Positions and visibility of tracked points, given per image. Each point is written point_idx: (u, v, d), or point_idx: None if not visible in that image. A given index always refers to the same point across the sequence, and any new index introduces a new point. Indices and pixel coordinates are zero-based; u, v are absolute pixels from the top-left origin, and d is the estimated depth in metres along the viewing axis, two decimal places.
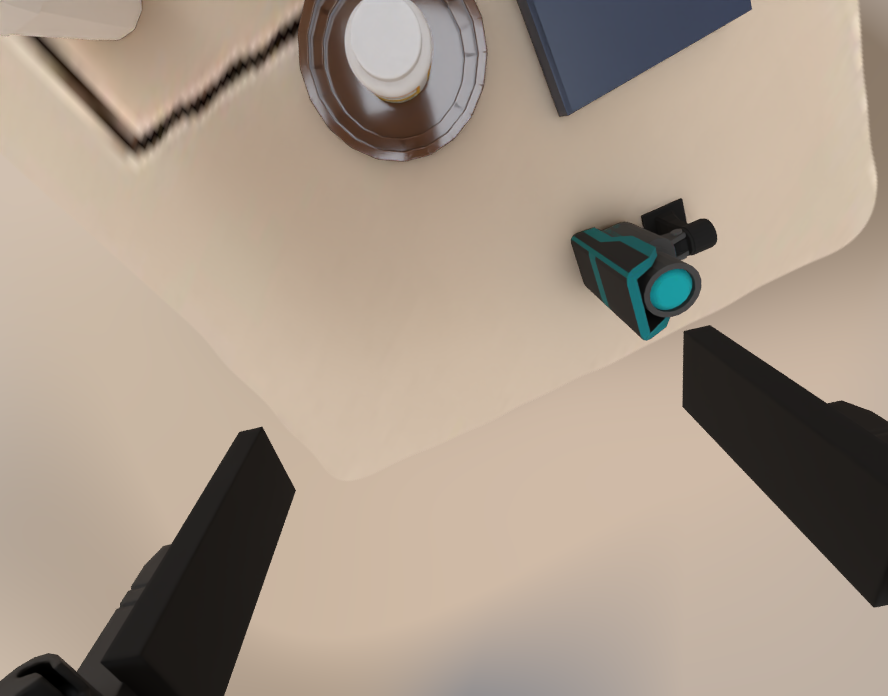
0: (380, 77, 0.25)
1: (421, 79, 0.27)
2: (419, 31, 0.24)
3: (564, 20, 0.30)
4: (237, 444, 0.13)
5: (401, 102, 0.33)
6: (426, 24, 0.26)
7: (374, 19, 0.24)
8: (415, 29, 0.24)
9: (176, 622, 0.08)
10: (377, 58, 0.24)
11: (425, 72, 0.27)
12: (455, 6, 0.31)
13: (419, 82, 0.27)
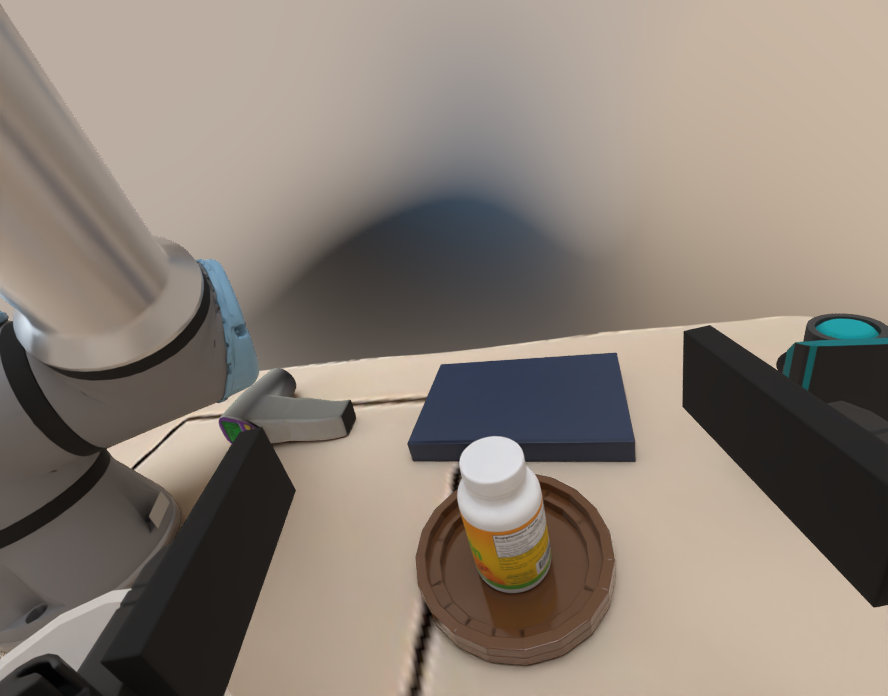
0: (513, 474, 0.25)
1: (537, 479, 0.28)
2: (504, 437, 0.28)
3: (563, 427, 0.39)
4: (237, 444, 0.13)
5: (548, 565, 0.29)
6: None
7: (475, 459, 0.27)
8: (501, 439, 0.28)
9: (176, 622, 0.08)
10: (499, 468, 0.25)
11: None
12: None
13: (538, 482, 0.28)
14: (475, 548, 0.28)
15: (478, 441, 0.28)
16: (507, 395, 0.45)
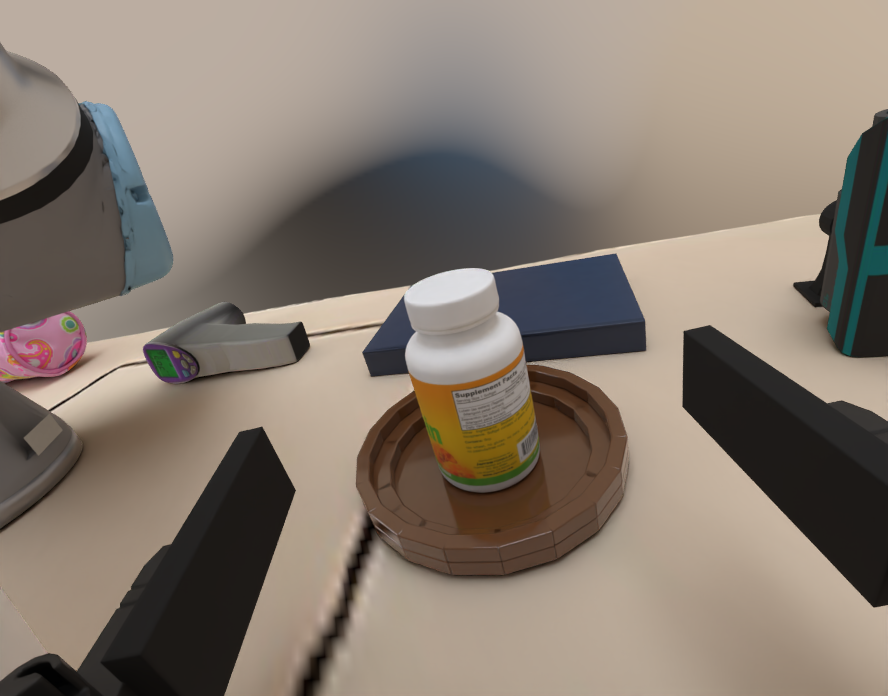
0: (477, 292, 0.17)
1: (516, 325, 0.20)
2: (469, 268, 0.20)
3: (553, 318, 0.31)
4: (237, 444, 0.13)
5: (535, 454, 0.21)
6: None
7: (426, 289, 0.19)
8: (464, 270, 0.20)
9: (176, 622, 0.08)
10: (458, 290, 0.18)
11: None
12: None
13: (517, 328, 0.20)
14: (432, 425, 0.20)
15: (433, 276, 0.20)
16: None
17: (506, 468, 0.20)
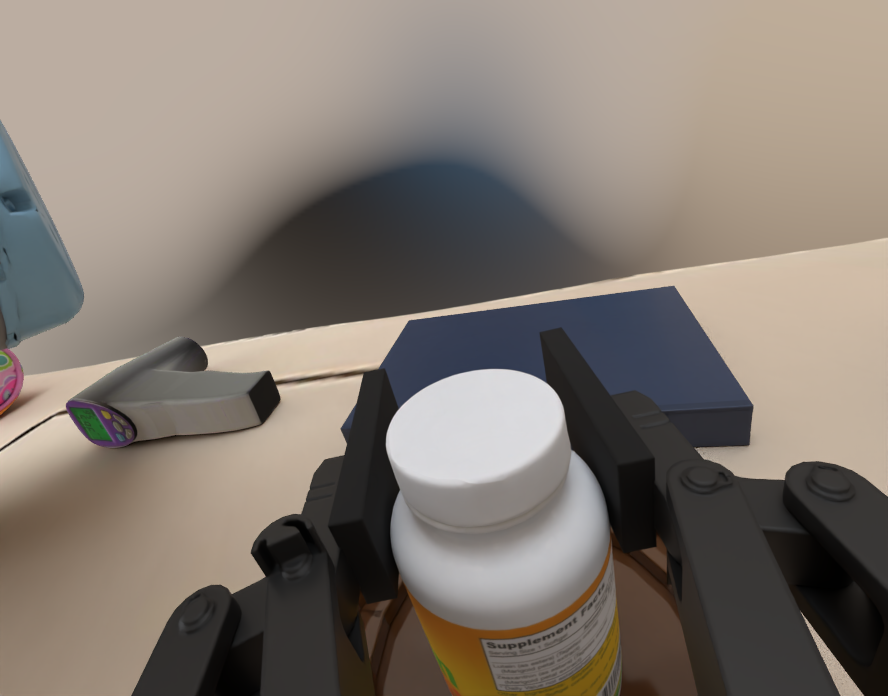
0: (537, 455, 0.08)
1: (593, 475, 0.11)
2: (506, 370, 0.11)
3: (608, 390, 0.22)
4: (367, 381, 0.14)
5: (619, 686, 0.12)
6: None
7: (428, 422, 0.10)
8: (499, 374, 0.11)
9: (372, 504, 0.10)
10: (494, 442, 0.09)
11: (583, 461, 0.11)
12: None
13: (597, 482, 0.11)
14: (439, 658, 0.11)
15: (441, 382, 0.11)
16: (507, 350, 0.28)
17: None
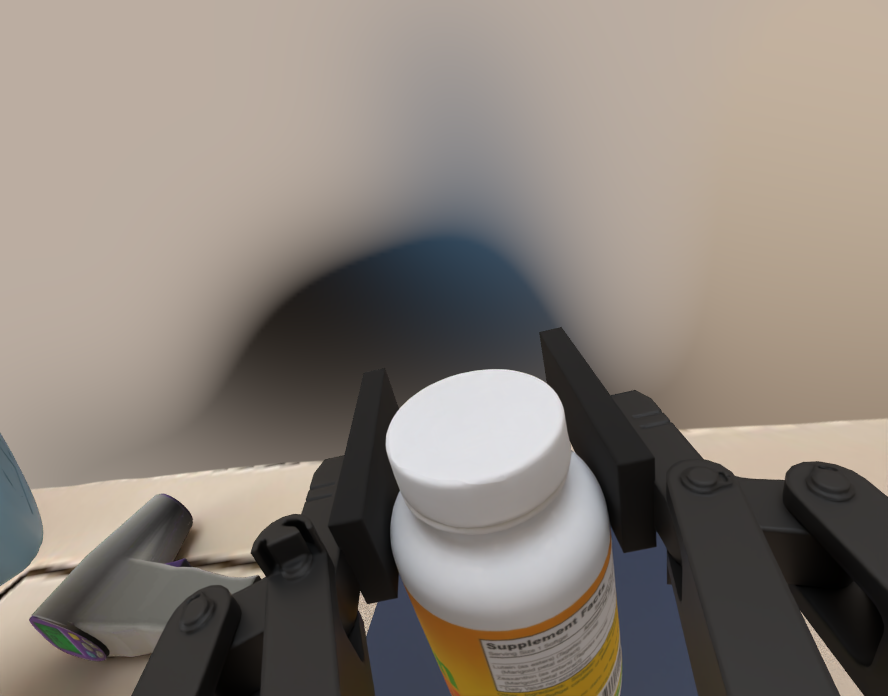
0: (537, 455, 0.08)
1: (593, 476, 0.11)
2: (506, 371, 0.11)
3: None
4: (367, 381, 0.14)
5: (619, 686, 0.12)
6: None
7: (428, 422, 0.10)
8: (499, 374, 0.11)
9: (372, 504, 0.10)
10: (494, 442, 0.09)
11: (584, 462, 0.11)
12: None
13: (597, 483, 0.11)
14: (439, 658, 0.11)
15: (441, 382, 0.11)
16: None
17: None
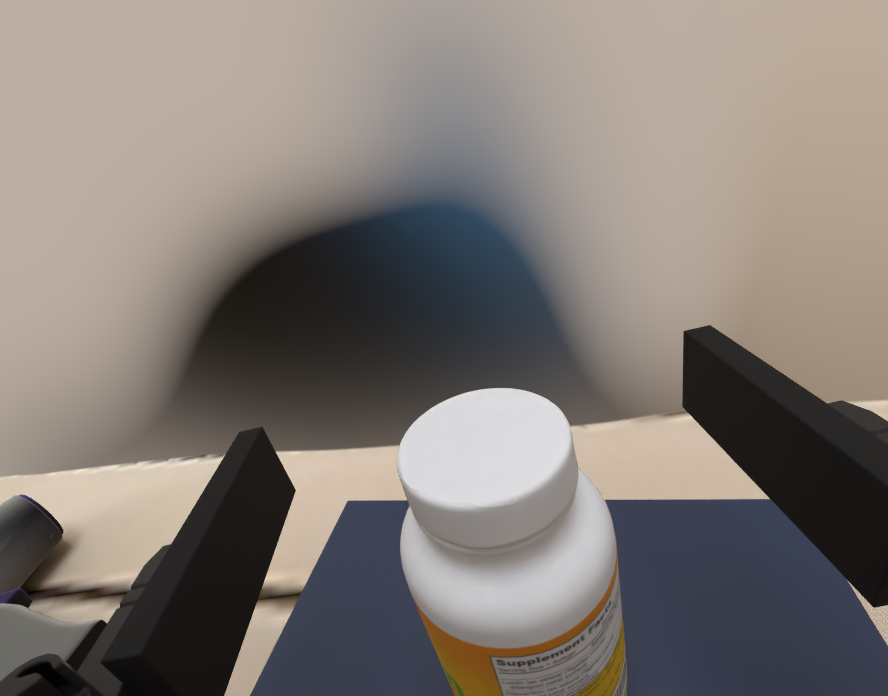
0: (546, 478, 0.08)
1: (599, 493, 0.11)
2: (514, 390, 0.11)
3: None
4: (237, 444, 0.13)
5: None
6: None
7: (438, 442, 0.10)
8: (506, 393, 0.11)
9: (176, 622, 0.08)
10: (504, 464, 0.09)
11: None
12: None
13: (603, 500, 0.11)
14: (448, 672, 0.11)
15: (450, 401, 0.11)
16: None
17: None
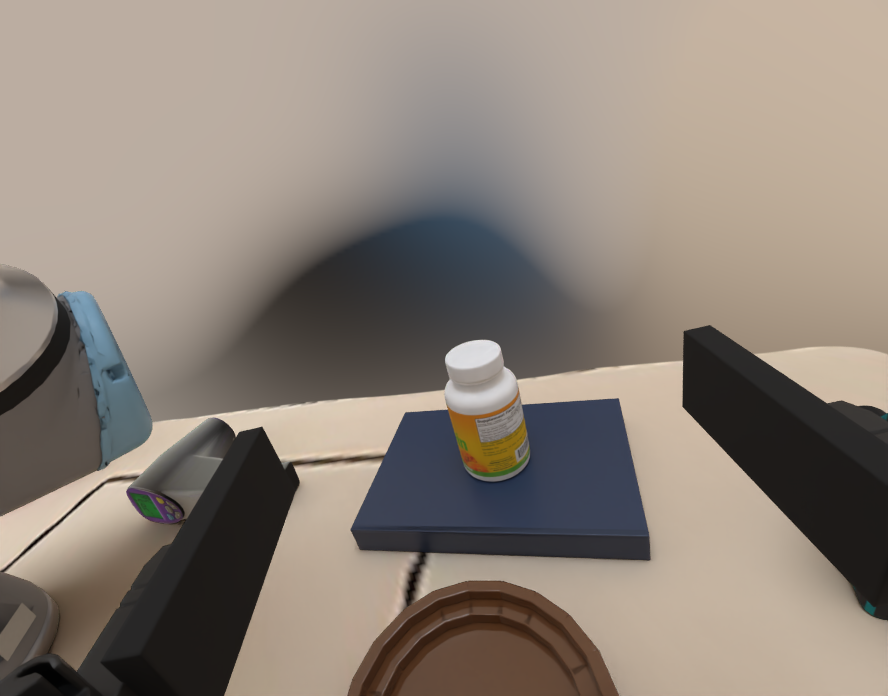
0: (490, 360, 0.29)
1: (514, 376, 0.32)
2: (484, 340, 0.32)
3: (552, 509, 0.29)
4: (237, 444, 0.13)
5: (526, 457, 0.33)
6: None
7: (458, 355, 0.31)
8: (482, 341, 0.32)
9: (176, 622, 0.08)
10: (479, 359, 0.29)
11: (511, 372, 0.32)
12: (477, 607, 0.26)
13: (515, 378, 0.31)
14: (461, 439, 0.32)
15: (462, 344, 0.32)
16: None
17: (508, 466, 0.32)
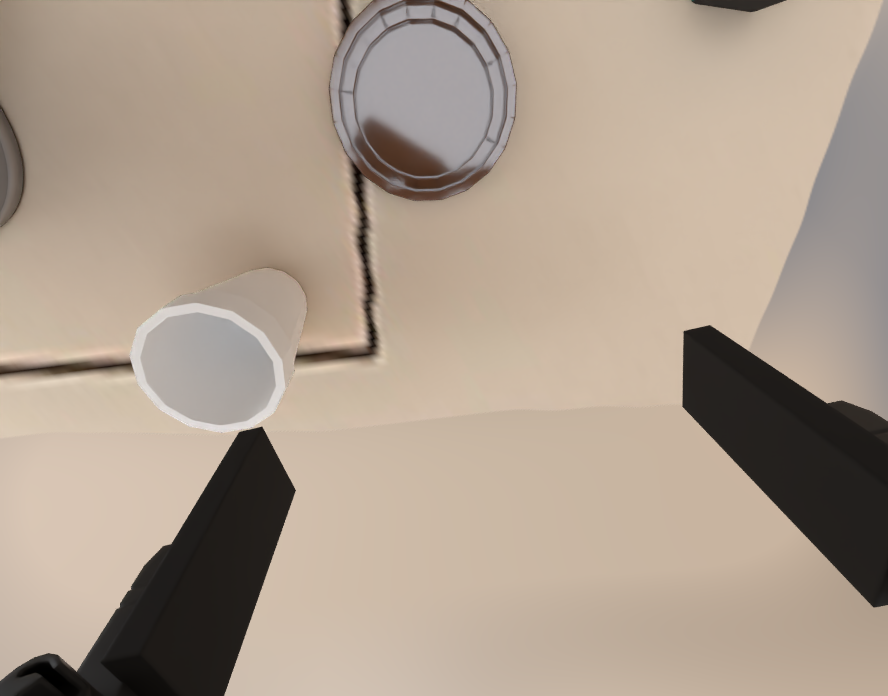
0: None
1: None
2: None
3: None
4: (237, 444, 0.13)
5: None
6: None
7: None
8: None
9: (176, 622, 0.08)
10: None
11: None
12: (413, 11, 0.30)
13: None
14: None
15: None
16: None
17: None
